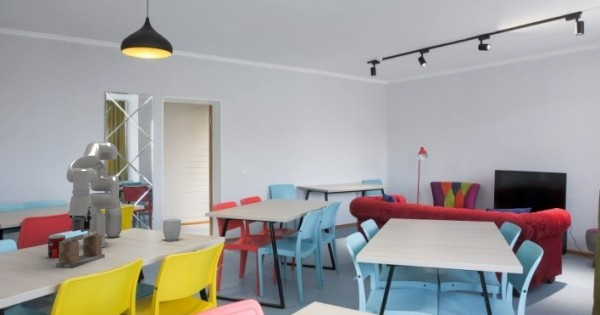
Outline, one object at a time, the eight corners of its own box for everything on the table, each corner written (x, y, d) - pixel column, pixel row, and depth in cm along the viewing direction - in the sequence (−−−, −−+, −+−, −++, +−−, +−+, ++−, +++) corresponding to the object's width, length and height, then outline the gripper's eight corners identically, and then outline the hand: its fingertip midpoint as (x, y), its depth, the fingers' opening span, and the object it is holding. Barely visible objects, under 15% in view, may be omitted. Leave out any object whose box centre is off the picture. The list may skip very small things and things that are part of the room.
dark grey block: (72, 231, 211) (72, 217, 211) (79, 229, 216) (79, 215, 216) (82, 231, 210) (82, 217, 210) (90, 230, 215) (90, 216, 215)
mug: (165, 237, 276) (165, 217, 276) (182, 236, 278) (182, 217, 278) (161, 241, 262) (161, 221, 262) (179, 241, 263) (179, 220, 263)
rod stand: (55, 266, 204) (55, 238, 204) (88, 255, 226) (88, 230, 225) (72, 268, 202) (72, 239, 202) (104, 257, 223) (104, 231, 223)
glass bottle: (107, 235, 280) (107, 193, 279) (123, 235, 281) (123, 193, 280) (102, 238, 270) (102, 195, 269) (118, 238, 271) (119, 195, 271)
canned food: (49, 255, 225) (49, 235, 225) (66, 254, 228) (66, 234, 228) (46, 259, 218) (47, 238, 218) (64, 257, 221) (64, 236, 221)
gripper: (61, 193, 212) (61, 229, 212) (90, 194, 207) (90, 230, 207) (72, 192, 219) (72, 226, 219) (101, 193, 215) (100, 228, 215)
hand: (81, 228), depth 213 cm, fingers closed on dark grey block, 6 cm apart
